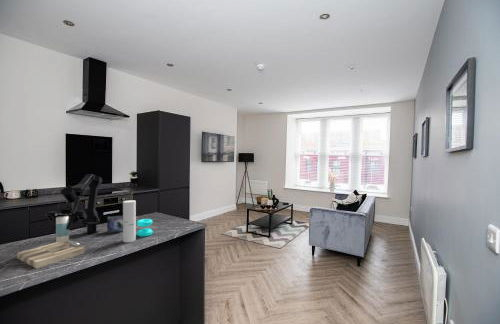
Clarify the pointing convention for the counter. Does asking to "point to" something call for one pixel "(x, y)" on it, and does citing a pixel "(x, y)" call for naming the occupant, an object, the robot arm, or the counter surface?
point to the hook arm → (73, 243)
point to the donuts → (145, 231)
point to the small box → (114, 224)
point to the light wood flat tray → (49, 254)
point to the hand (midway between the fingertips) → (61, 229)
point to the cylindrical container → (129, 221)
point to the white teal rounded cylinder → (62, 229)
